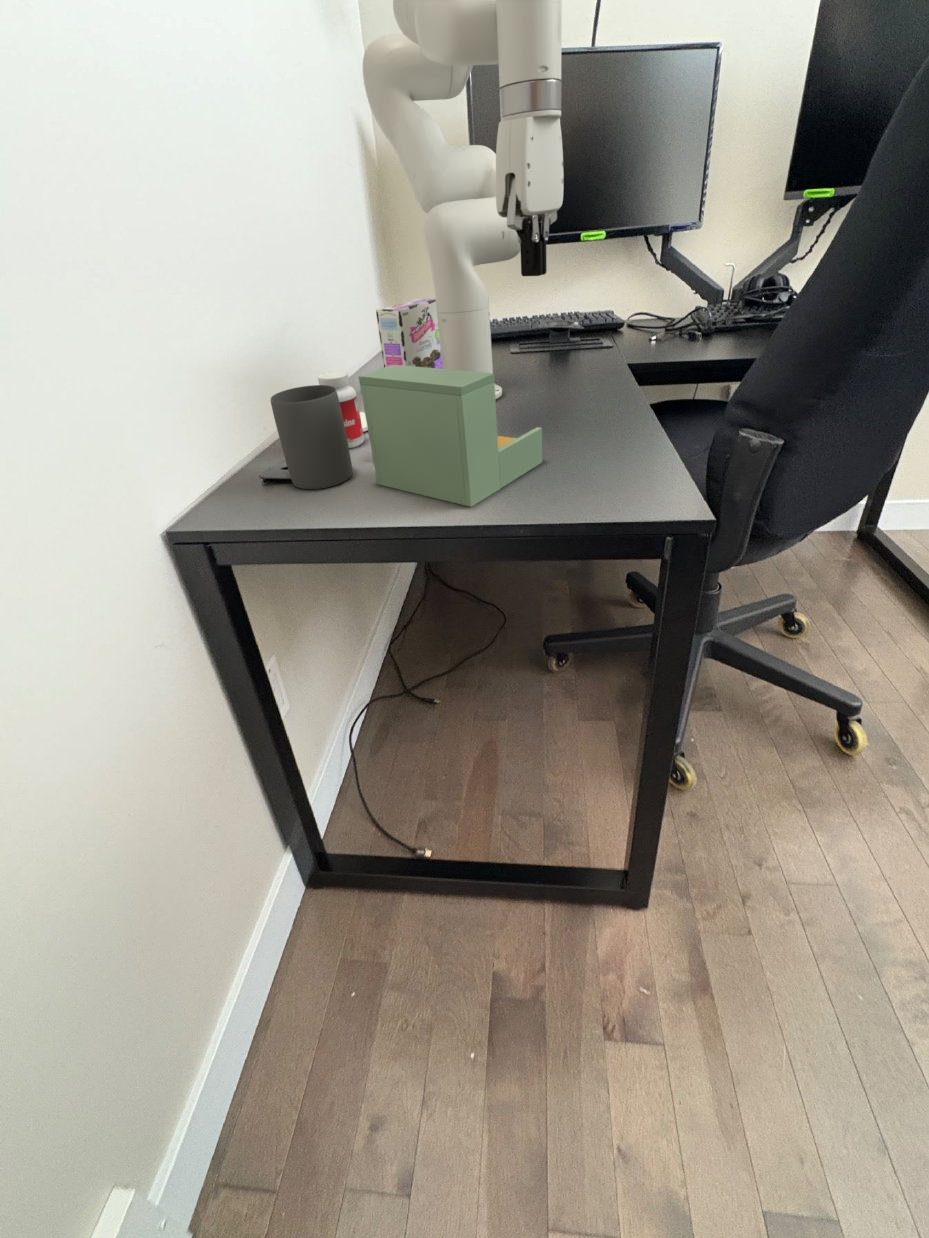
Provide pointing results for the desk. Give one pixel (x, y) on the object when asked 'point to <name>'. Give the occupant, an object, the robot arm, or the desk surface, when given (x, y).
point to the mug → (312, 436)
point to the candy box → (410, 334)
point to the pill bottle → (346, 405)
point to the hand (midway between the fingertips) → (533, 275)
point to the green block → (441, 433)
